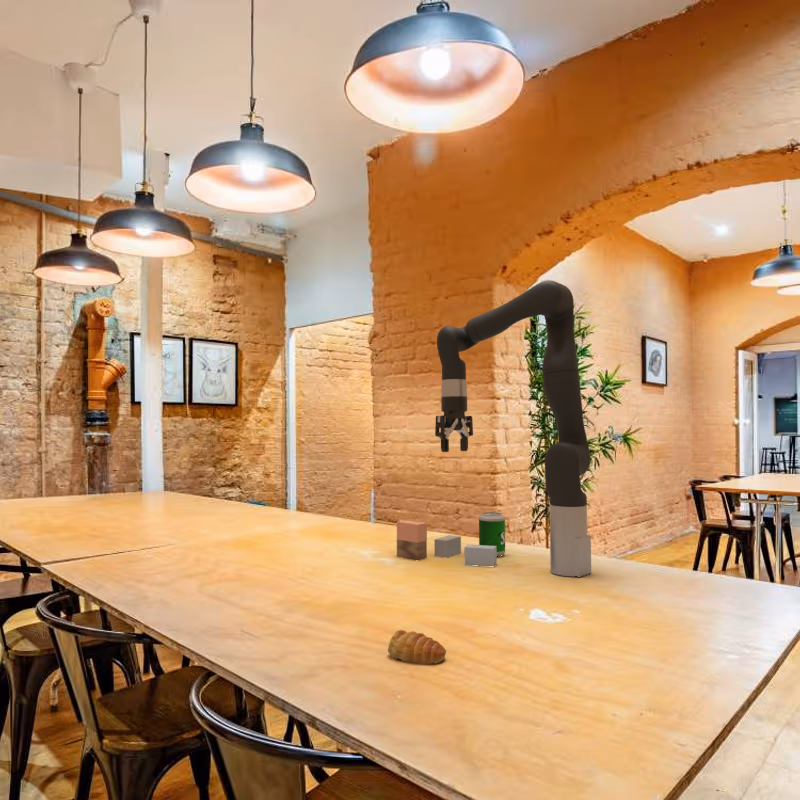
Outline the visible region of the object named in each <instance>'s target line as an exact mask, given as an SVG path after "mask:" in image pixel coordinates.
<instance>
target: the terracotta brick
mask: <svg viewBox="0 0 800 800" xmlns="http://www.w3.org/2000/svg"><path fill="white" fill-rule="evenodd" d="M427 538H428V524H427V522H423V521H415V520H408V519H407V520H406V519H405V520H400V521H396V540H397V539H398V540H404V541H410V542H416V543H419V542H424V541H428V539H427Z"/></svg>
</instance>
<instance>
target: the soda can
mask: <svg viewBox="0 0 800 800" xmlns="http://www.w3.org/2000/svg"><path fill="white" fill-rule="evenodd" d="M478 545H486V546H497V556H501V555H504V554H506V517H505V516H504V515H503V513H501V512H495V511H488V512H487V511H486V512H482V513H481V514H480V515H479V516H478ZM501 557H502V556H501Z"/></svg>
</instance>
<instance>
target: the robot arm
mask: <svg viewBox="0 0 800 800" xmlns="http://www.w3.org/2000/svg"><path fill="white" fill-rule="evenodd" d="M574 303H575V302H574V296H573V294H572V292H571V289H569V287H567V286H566V285H564V284H562V283H560V282H558V281H554V280H549V279H547V280H544V281H540V282H539V283H536V284H535V285H534V286H532V287H530V288H529V289H527V290H526V291H524V292H523V293H521V294H519V295H518V296H516V297H514V298H513V299H510V300H509V301H508V302H505V303H504V304H502V305H499V306H497V307H495V308H493V309H491V310H489V311H485V312H483V313H482V314H480V315H476V316H474V317H472V318H471V319H469V320H468V321H467V322H466V325H464V326H462V327H455V326H451V325H447V326H443V327H442V328H440V330H439V331H438V333H437V336H436V348H437V351H438V357H439V360H440V365H441V388H440V393H441V395H440V400H441V402H440V403H441V406H440V407H441V408H440V409H441V412H442V413H443V415H440V414H439V415H436V416H435V430H434V432H435V433H434V435H435V437H437V438H439V439H440V450H441V451H440V452H442V453H449V452H450V441H449V440H450V439H449V438H450V435H451V434H452V433H453V432H454V431H455V432H456V433H458V435H459V437H460V438H459V440H460V441H459V443H460V445H459V446H460V451H461V452H467V451H468V450H469V438H470V437H473V435H474V427H473V425H474V424H473V422H474V421H473V415H465V413H466V412H467V411H468V385H467V366H466V362H465V361H464V360H463V359H461V357H460V352H461V353H462V352H464V351H468V350H469V349H471V348H472V347H474V346H476V345H478V344H479V343H480V342H483V341H485V340H488V339H491V338H494V337H496V336H498V335H500V334H502V333H503V332H505V331H506V330H508V329H509V328H510V327H512V326H513V325H515V324H517V323H518V322H520V321H522V320H525V319H527V318H528V319H529V318H532V317H537V316H544V321H545V327H546V334H547V335H546V336H547V338H546V339H547V341H546V342H547V343H546V347H545V352H544V356H543V360H542V365H541V368H542V370H541V373H542V383H543V384H542V385H543V391H544V395H545V399H546V401H547V403H548V406H549V408H550V410H551V412H552V414H553V417H554V420H555V422H556V423H555V424H556V426H557V428H556V429H557V436H558V442H556V443H553V444H552V445H550V446H549V448H548V449H547V451H546V454H545V459H544V473H545V487H546V488H545V490H546V492H547V496H548V499H549V549H550V550H549V557H550V558H549V559H550V560H549V561H550V562H549V563H550V565H549V566H550V572H551V574H554V575H558V576H562V577H563V576H564V577H575V576H577V578H581V576H582V577H584V576H587V575H590V574H592V539H591V535H590V534H588V500H587V499H588V497H587V494H586V493H585V492H584V491H583V490H582V487H581V476H583V475H585V474H586V473H587V471H588V470H589V469H590V466H591V452H590V447H589V443H588V438H587V433H586V428H585V421H584V413H583V403H582V393H581V392H582V391H581V382H580V372H579V364H578V357H577V347H576V340H575V327H574V326H575V325H574V324H575V323H574V321H575V320H574V318H575V316H574V315H575V314H574V312H575V307H574V306H575V304H574ZM589 573H590V574H589ZM586 574H587V575H586ZM583 575H584V576H583Z"/></svg>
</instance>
